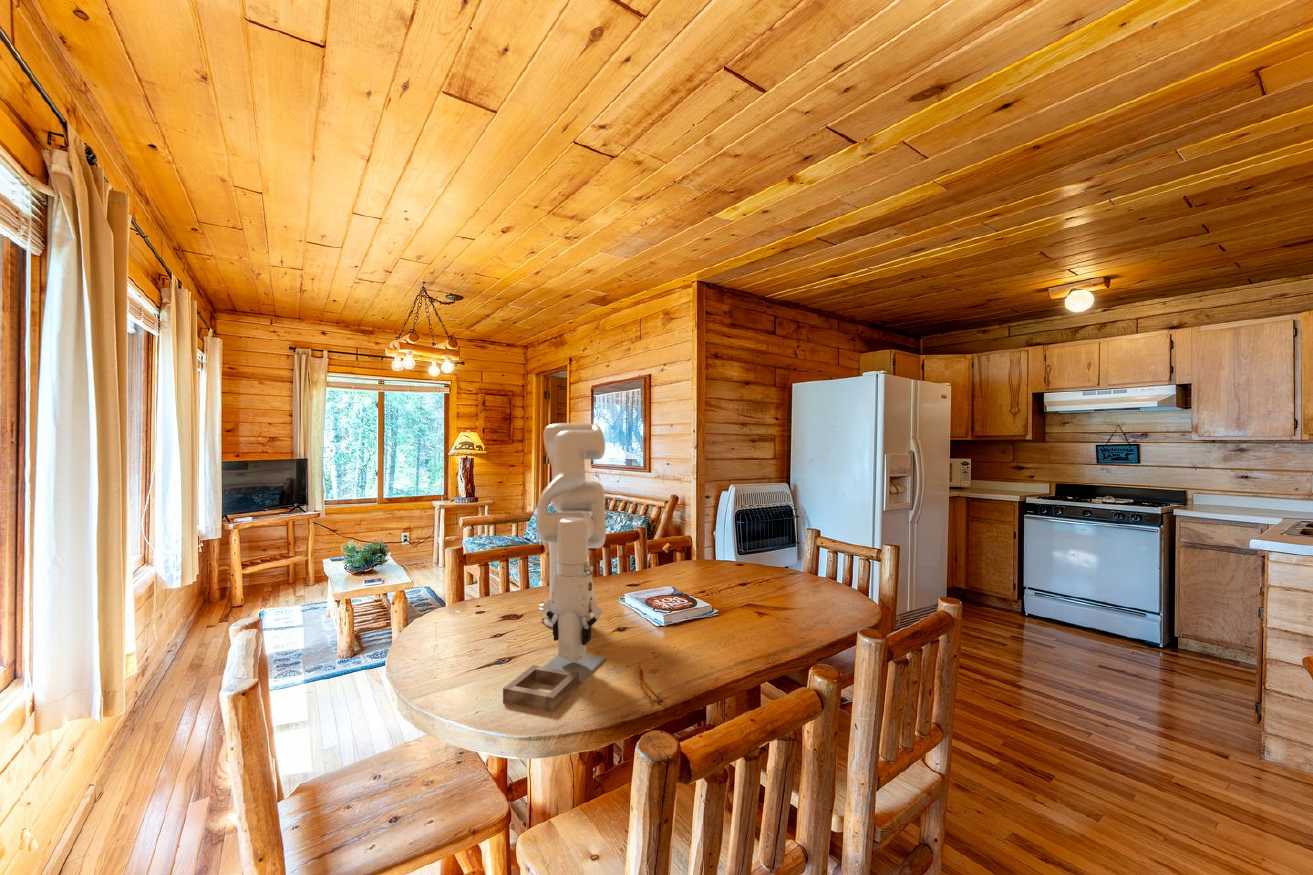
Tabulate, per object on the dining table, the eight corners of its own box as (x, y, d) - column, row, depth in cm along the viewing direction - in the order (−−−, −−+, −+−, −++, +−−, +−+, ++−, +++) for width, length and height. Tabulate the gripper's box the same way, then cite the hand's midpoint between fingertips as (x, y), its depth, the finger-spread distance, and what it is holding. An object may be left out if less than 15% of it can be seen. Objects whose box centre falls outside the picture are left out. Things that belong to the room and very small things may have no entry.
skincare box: (586, 658, 132) (587, 609, 132) (573, 664, 129) (573, 613, 129) (570, 651, 136) (570, 603, 136) (556, 656, 133) (556, 607, 133)
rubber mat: (535, 675, 128) (535, 673, 128) (563, 652, 141) (563, 650, 141) (580, 683, 124) (580, 681, 124) (605, 659, 137) (605, 656, 137)
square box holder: (502, 702, 116) (503, 688, 115) (532, 677, 127) (532, 664, 127) (552, 712, 112) (553, 697, 112) (579, 685, 123) (579, 672, 123)
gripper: (611, 568, 133) (610, 640, 133) (548, 561, 138) (548, 630, 139) (598, 576, 126) (597, 652, 126) (533, 569, 131) (532, 641, 132)
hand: (571, 640), depth 132 cm, fingers closed on skincare box, 7 cm apart
